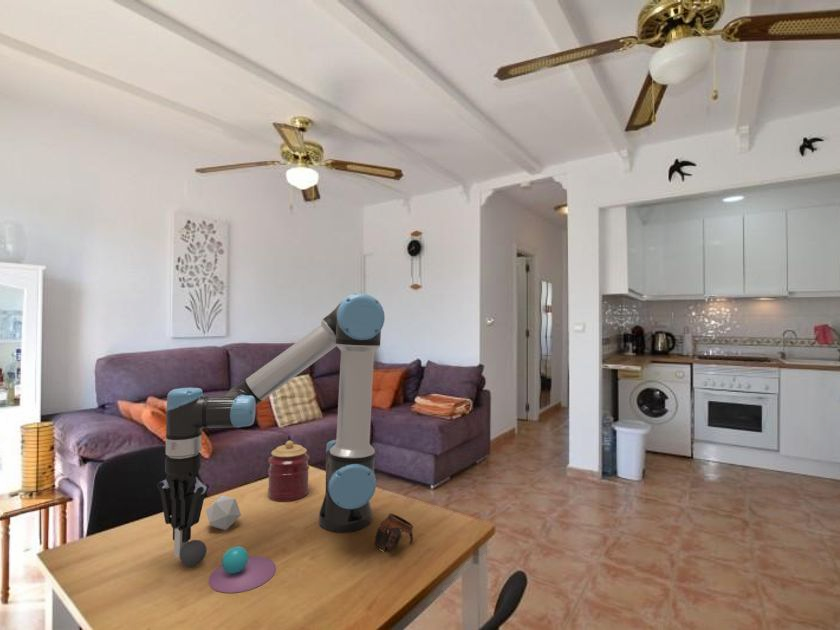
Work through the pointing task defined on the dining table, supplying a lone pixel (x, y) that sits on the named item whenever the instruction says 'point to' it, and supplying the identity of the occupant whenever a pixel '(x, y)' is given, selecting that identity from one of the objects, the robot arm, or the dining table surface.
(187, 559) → the dark grey ellipsoid
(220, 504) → the die
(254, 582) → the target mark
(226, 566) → the object ball
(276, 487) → the canister
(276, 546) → the dining table surface
